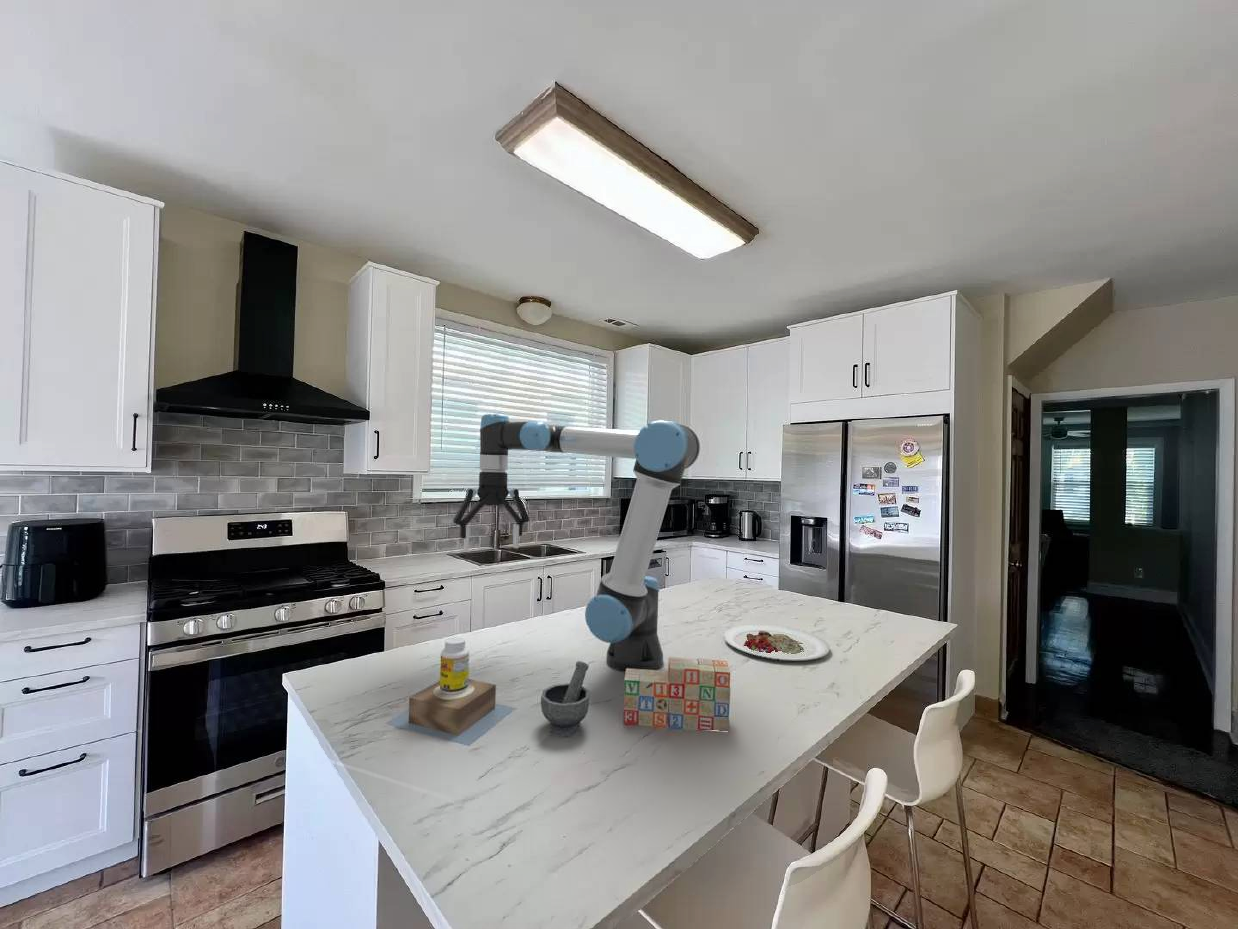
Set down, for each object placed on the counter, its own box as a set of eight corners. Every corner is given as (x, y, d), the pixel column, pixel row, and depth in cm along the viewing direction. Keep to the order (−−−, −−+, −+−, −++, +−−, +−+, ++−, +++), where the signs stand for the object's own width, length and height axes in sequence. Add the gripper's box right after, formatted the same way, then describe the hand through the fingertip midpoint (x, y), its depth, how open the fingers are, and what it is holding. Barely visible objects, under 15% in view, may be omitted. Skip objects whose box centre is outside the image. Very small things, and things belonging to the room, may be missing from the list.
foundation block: (495, 708, 109) (495, 683, 109) (458, 735, 98) (459, 708, 98) (449, 697, 113) (449, 674, 113) (408, 722, 102) (409, 696, 102)
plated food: (838, 643, 159) (838, 632, 159) (817, 675, 133) (817, 662, 133) (743, 624, 175) (743, 614, 175) (708, 650, 149) (709, 638, 149)
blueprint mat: (516, 710, 110) (516, 708, 110) (469, 747, 95) (469, 745, 95) (440, 692, 117) (440, 690, 117) (385, 725, 102) (385, 723, 102)
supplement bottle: (436, 687, 107) (437, 638, 107) (463, 682, 110) (464, 633, 110) (443, 698, 102) (445, 646, 102) (471, 692, 105) (473, 641, 105)
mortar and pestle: (566, 747, 96) (567, 682, 96) (530, 731, 101) (531, 669, 101) (602, 723, 105) (604, 664, 105) (568, 709, 110) (569, 653, 110)
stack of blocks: (622, 725, 105) (623, 664, 105) (624, 710, 111) (626, 653, 111) (729, 733, 103) (730, 671, 103) (725, 718, 109) (727, 659, 109)
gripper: (532, 471, 150) (530, 544, 150) (443, 470, 138) (441, 549, 138) (541, 472, 143) (539, 548, 143) (448, 470, 131) (446, 554, 131)
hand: (491, 549), depth 141 cm, fingers open, 13 cm apart
